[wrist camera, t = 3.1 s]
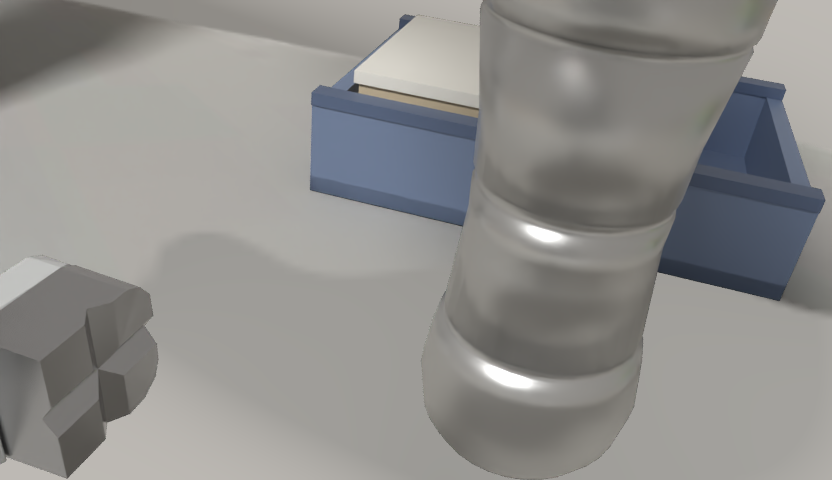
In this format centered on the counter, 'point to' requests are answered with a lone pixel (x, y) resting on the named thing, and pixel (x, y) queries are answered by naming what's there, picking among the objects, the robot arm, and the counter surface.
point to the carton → (427, 66)
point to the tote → (695, 216)
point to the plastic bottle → (572, 217)
